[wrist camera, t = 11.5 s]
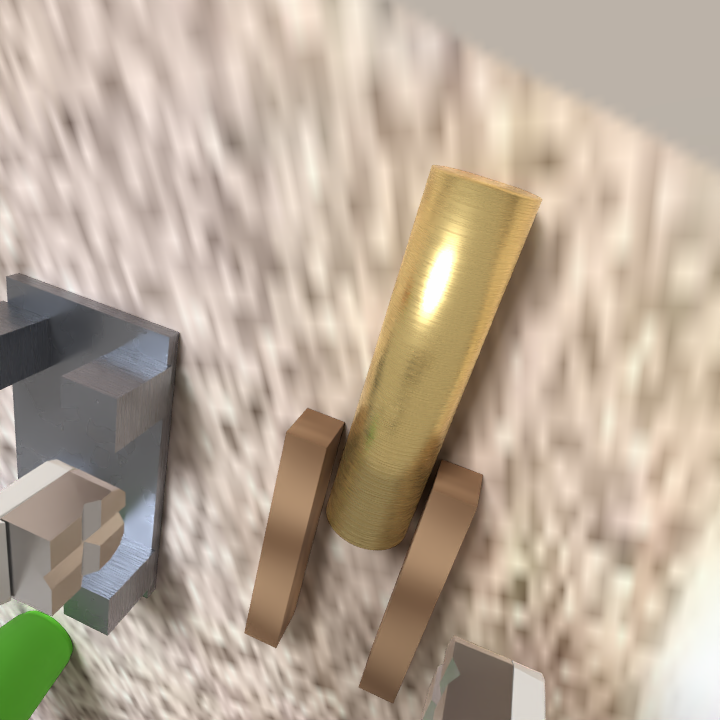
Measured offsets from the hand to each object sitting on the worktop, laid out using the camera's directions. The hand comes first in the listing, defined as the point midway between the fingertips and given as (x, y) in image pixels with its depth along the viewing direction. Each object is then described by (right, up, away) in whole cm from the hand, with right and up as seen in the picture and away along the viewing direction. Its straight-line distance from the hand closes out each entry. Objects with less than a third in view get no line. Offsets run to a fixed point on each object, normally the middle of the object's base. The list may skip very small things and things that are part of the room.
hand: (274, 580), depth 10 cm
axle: (+4, +4, +14) cm, 15 cm away
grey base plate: (-14, -1, +22) cm, 27 cm away
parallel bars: (+2, -6, +19) cm, 20 cm away
